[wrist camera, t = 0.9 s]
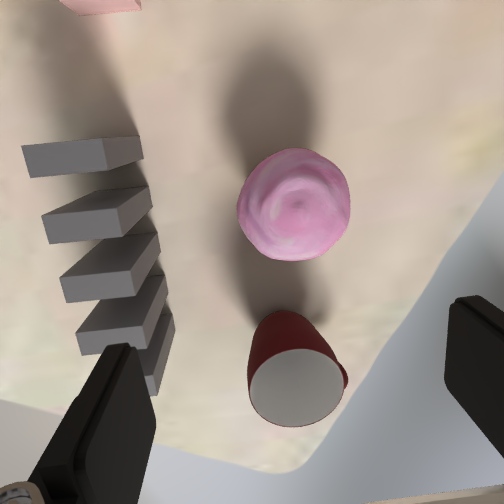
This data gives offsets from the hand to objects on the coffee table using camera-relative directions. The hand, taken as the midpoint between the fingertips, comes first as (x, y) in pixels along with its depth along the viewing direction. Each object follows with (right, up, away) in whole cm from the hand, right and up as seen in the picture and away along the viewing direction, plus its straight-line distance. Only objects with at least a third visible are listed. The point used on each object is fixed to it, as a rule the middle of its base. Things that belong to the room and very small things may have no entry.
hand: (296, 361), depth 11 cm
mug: (+3, -5, +29) cm, 29 cm away
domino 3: (-13, +4, +25) cm, 28 cm away
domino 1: (-14, +12, +22) cm, 29 cm away
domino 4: (-13, 0, +26) cm, 29 cm away
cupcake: (+2, +9, +24) cm, 26 cm away
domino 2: (-13, +8, +23) cm, 28 cm away
